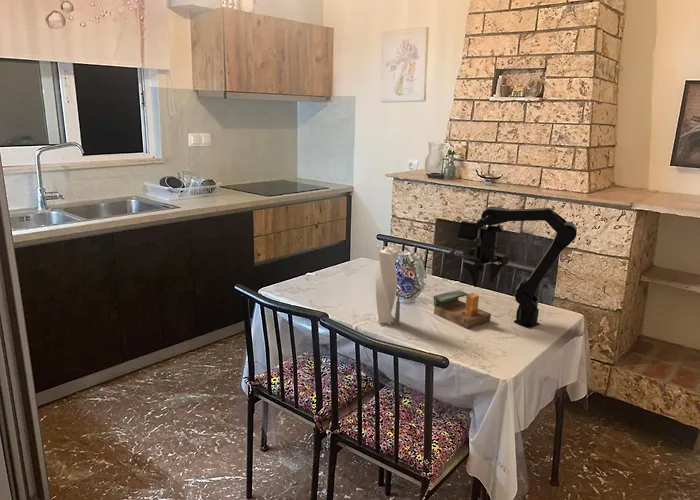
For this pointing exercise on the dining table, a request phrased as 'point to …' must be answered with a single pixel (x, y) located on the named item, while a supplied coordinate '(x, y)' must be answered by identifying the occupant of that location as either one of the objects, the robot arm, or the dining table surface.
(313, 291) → the dining table surface
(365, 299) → the dining table surface
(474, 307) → the peg
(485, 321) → the socket board
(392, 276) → the skyscraper
